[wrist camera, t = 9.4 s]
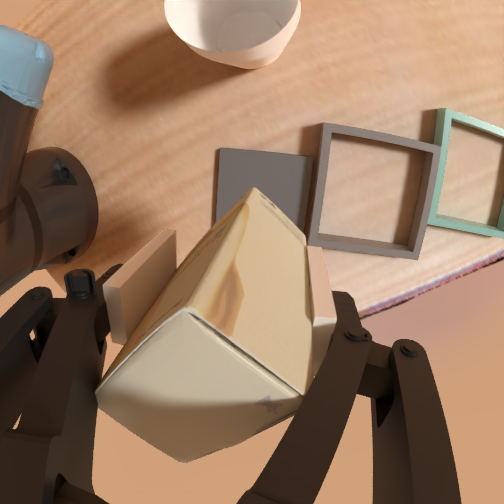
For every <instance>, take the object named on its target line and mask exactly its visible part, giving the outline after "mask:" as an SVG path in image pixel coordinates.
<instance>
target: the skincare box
mask: <svg viewBox="0 0 504 504" xmlns="http://www.w3.org/2000/svg"><path fill="white" fill-rule="evenodd" d="M313 380H314V376H313V347H312V325H311V306H310V291H309V275H308V261H307V247H306V237H305V235H304V234H303V233H302V232H301V231H300V230H299V229H298V228H297V226H296V225H295V224H294V223H293V222H292V221H291V220H290V219H289V218H288V217H287V216H286V215H285V214H284V213H283V212H282V211H281V210H280V209H279V208H278V207H277V206H276V205H275V204H274V203H273V202H271V201H270V200H269V199H268V198H267V197H266V196H265V195H264V194H262V193H261V192H260V191H259V190H258V189H257V188H255V187H253V188H251V189H250V190H249V191H248V192H246V193H245V194H244V195H243V196H242V197H241V198H240V199H239V200H238V201H237V202H236V203H235V204H234V205H233V206H232V207H231V208H230V209H229V210H228V211H227V212H226V213H225V214H224V215H223V216H222V217H221V218H220V219H219V220H218V221H217V222H216V223H215V224H214V225H213V226H212V227H211V228H210V230H209V231H208V232H207V233H206V234H205V235H204V236H203V238H202V239H201V240H200V241H199V242H198V243H197V244H196V246H195V247H194V248H193V249H192V250H191V251H190V253H189V254H188V255H187V256H186V258H185V259H184V261H183V262H182V263H181V264H180V266H179V267H178V269H177V270H176V271H175V273H174V274H173V276H172V277H171V279H170V280H169V282H168V283H167V284H166V286H165V287H164V288H163V290H162V291H161V293H160V294H159V295H158V297H157V298H156V300H155V301H154V303H153V304H152V306H151V307H150V308H149V310H148V311H147V313H146V314H145V315H144V317H143V318H142V320H141V321H140V323H139V324H138V326H137V327H136V328H135V330H134V331H133V333H132V334H131V336H130V337H129V339H128V340H127V342H126V343H125V345H124V346H123V348H122V349H121V351H120V352H119V354H118V355H117V357H116V358H115V360H114V361H113V363H112V364H111V366H110V367H109V369H108V370H107V372H106V373H105V375H104V376H103V378H102V379H101V381H100V383H99V384H98V386H97V388H96V390H95V395H96V399H97V402H98V408H99V409H101V410H102V411H104V412H105V413H106V414H108V415H109V416H110V417H112V418H113V419H114V420H116V421H117V422H119V423H120V424H121V425H123V426H124V427H126V428H127V429H128V430H130V431H131V432H133V433H134V434H136V435H137V436H139V437H140V438H142V439H143V440H145V441H146V442H148V443H149V444H151V445H153V446H154V447H156V448H157V449H159V450H161V451H162V452H164V453H166V454H167V455H169V456H171V457H172V458H174V459H175V460H177V461H179V462H183V463H187V462H191V461H193V460H196V459H198V458H201V457H203V456H206V455H209V454H212V453H214V452H216V451H219V450H222V449H224V448H228V447H231V446H234V445H237V444H239V443H241V442H243V441H245V440H247V439H248V438H250V437H252V436H254V435H256V434H258V433H260V432H262V431H264V430H266V429H268V428H270V427H272V426H274V425H276V424H278V423H280V422H282V421H284V420H286V419H288V418H290V417H292V416H294V415H295V414H296V412H297V410H298V409H299V407H300V405H301V403H302V401H303V399H304V397H305V395H306V394H307V392H308V390H309V388H310V386H311V384H312V382H313Z"/></svg>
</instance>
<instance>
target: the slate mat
mask: <svg viewBox="0 0 504 504" xmlns="http://www.w3.org/2000/svg"><path fill="white" fill-rule="evenodd" d="M312 165H313V157H309V156H301V155H293V154H284V153H275V152H266V151H255V150H244V149H231V148H220V158H219V174H218V191H217V209H216V222H217V221H218V220H219V219H220V218H221V217H222V216H223V215H224V214H225V213H226V212H227V211H228V210H229V209H230V208H231V207H232V206H233V205H234V204H235V203H236V202H237V201H238V200H239V199H240V198H241V197H242V196H243V195H244V194H245V193H246V192H248V191H249V190H250V189H251V188H253V187H255V188H257V189H258V190H259V191H260V192H261V193H262V194H264V195H265V196H266V197H267V198H268V199H269V200H270V201H271V202H273V203H274V204H275V205H276V206H277V207H278V208H279V209H280V210H281V211H282V212H283V213H284V214H285V215H286V216H287V217H288V218H289V219H290V220H291V221H292V222H293V223H294V224H295V225H296V226H297V228H298V229H299V230H300V231H301V232H302V233H304V226H305V219H306V212H307V204H308V197H309V189H310V181H311V173H312Z"/></svg>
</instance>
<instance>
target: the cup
mask: <svg viewBox="0 0 504 504" xmlns="http://www.w3.org/2000/svg"><path fill="white" fill-rule="evenodd" d="M164 7H165V15H166V18H167V21H168V23H169V25H170V27H171V28H172V30H173V31H174V32H175V33H176V34H177V35H178V36H179V37H180V38H181V39H182V40H183V41H184V42H185V43H186V45H187V46H188V47H189V48H190V49H192V50H193V51H194V52H196V53H197V54H199V55H201V56H203V57H205V58H207V59H209V60H212V61H215V62H219V63H223V64H227V65H231V66H235V67H239V68H244V69H257V68H261V67H264V66H267V65H269V64H270V63H272V62H273V61H275V60H276V59H277V58H278V57H279V55H280V54H281V52H282V51H283V49H284V48H285V46H286V45H287V43H288V41H289V40H290V38H291V37H292V35H293V33H294V32H295V30H296V27H297V25H298V22H299V18H300V12H301V4H300V0H165V4H164Z"/></svg>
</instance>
